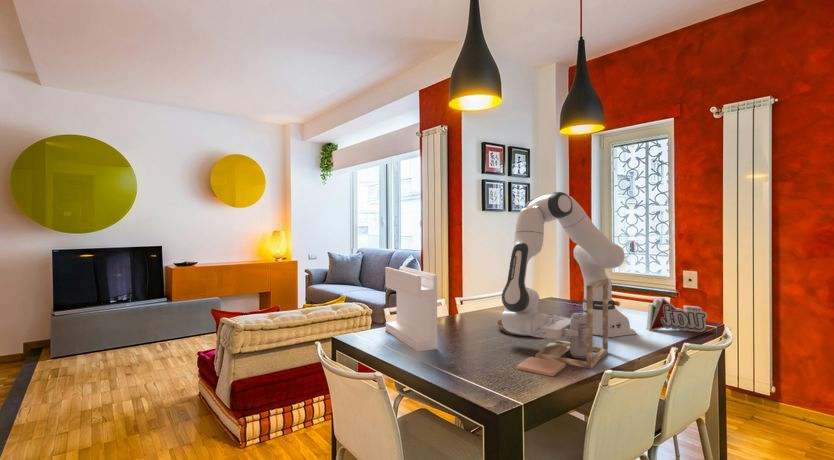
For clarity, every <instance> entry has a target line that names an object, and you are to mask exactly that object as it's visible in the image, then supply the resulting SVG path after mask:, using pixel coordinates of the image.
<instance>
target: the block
mask: <svg viewBox="0 0 834 460" xmlns="http://www.w3.org/2000/svg"><path fill="white" fill-rule="evenodd" d="M384 268H385V271H384V275H385V279H384V281H385V286H384V287H385V288H386V289H390V290H392V291H394V292H396V293H395V294H396V318H395V320H394V321H386V322H385V331H386V332H387V333H389V334H390V335H392V336H393V337H395V338H396V339H398V340H400V341H401V342H403V343H404V344H405V345H408V346H409V347H410V348H411V349H413V350H415V351H416V352H424V351H431V350H432V351H433V350H437V349H438V274H434V273H431V272H426V271H423V270H419V269H415V268H410V267H408V266H403V265H402V266H401V265H400V267H399V268H398V269H397V268H393V267H390V266H385V267H384ZM386 327H387V328H386Z"/></svg>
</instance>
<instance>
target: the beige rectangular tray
mask: <svg viewBox="0 0 834 460" xmlns="http://www.w3.org/2000/svg"><path fill="white" fill-rule="evenodd" d="M568 351H569V352H570V346H566V345H564V344H557V343H556V342H548V344H546V345H545V346H544V347H542V348H541V349H540V350H539V352H538V353H541V354H547V355H552V356H558V357H563V355H565V354H566V353H567V352H568Z"/></svg>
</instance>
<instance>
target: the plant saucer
mask: <svg viewBox="0 0 834 460" xmlns="http://www.w3.org/2000/svg"><path fill="white" fill-rule="evenodd" d="M496 325H497V327H498V329H500V330H501V331H503V332H504V333H506V334H509V335H514V336H520V337H532V336H531V335H521V334H516V333H512V332H509V331H507V330H506V329H505V328H504V327H503V325H502V321H501V319H499V320H497V322H496Z"/></svg>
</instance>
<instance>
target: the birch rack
mask: <svg viewBox="0 0 834 460" xmlns="http://www.w3.org/2000/svg"><path fill="white" fill-rule="evenodd" d="M602 285H603V336H602V346H595V345H593V342H594V340H593V337H594V336H593V290H594V289H596V288H598V287H600V286H602ZM555 343H557V344H564V345H566V346H570V341H566V340H561V339H559V340H555ZM594 352H597V353H595V354H594V355H593V353H594ZM608 352H609V337H608V279H607V278H603V279H601V280H599V281H596V282H594V283H591V284H589V285H587V350H586V358H585V360H586V361H583V360H579V359H572V358H567V357H564V356H561V357H558V356H552V355H547V354H541V353H539V352H536V353H535V357H536V358H541V359H546V360H551V361H557V362H562V363H566V365H571V366H576V367H580V368H587V369H593V368H594V366H596V365H597V364H598V363H599V362H600V361H601V360H602V359H603V358H604V357H605V356H606V355H607V354H608Z"/></svg>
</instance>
